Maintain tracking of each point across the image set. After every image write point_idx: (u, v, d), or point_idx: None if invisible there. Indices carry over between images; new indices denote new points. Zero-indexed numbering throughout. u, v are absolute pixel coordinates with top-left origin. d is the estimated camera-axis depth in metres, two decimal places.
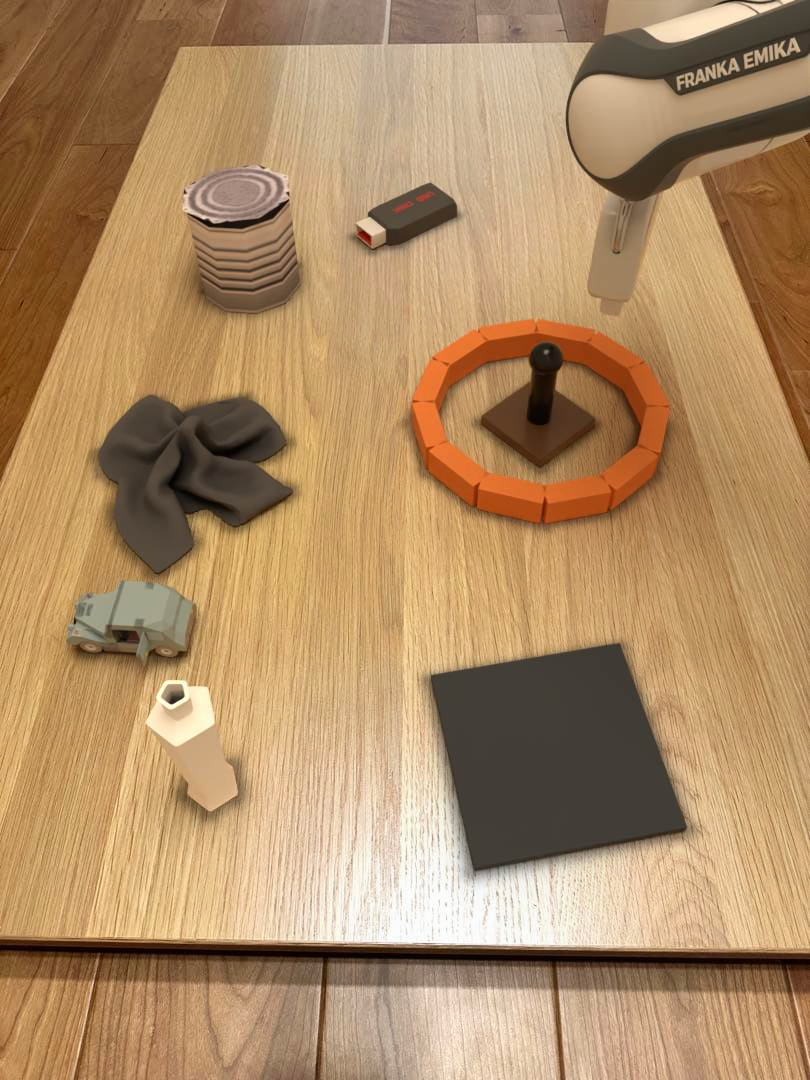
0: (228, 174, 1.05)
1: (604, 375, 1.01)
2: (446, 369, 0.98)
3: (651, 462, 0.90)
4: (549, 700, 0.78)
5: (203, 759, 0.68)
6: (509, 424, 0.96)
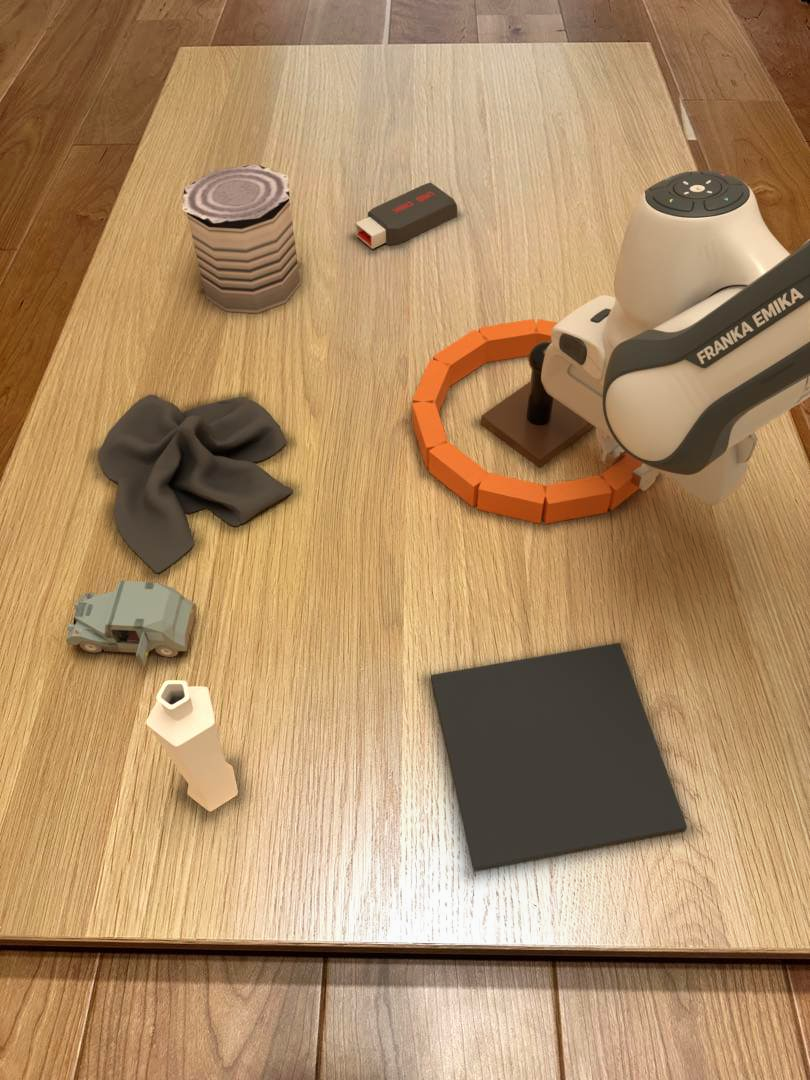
0: (228, 174, 1.05)
1: None
2: (446, 369, 0.98)
3: None
4: (549, 700, 0.78)
5: (203, 759, 0.68)
6: (509, 424, 0.96)
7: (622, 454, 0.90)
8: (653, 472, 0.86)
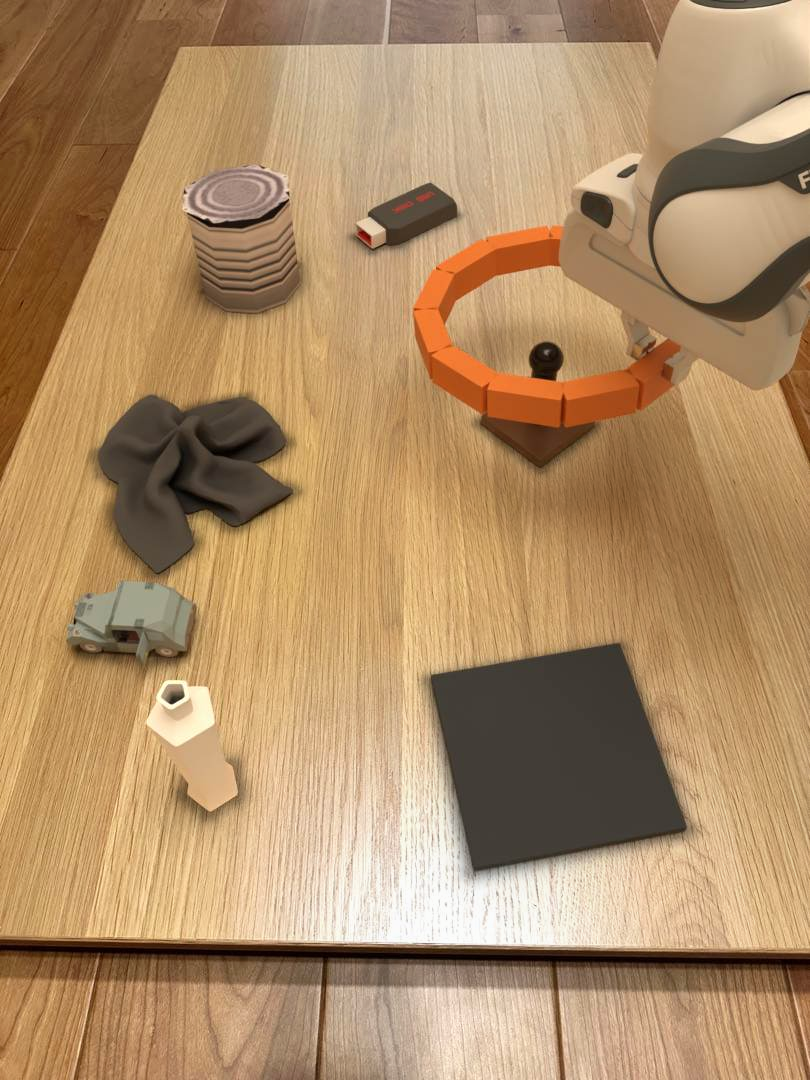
0: (228, 174, 1.05)
1: None
2: (451, 277, 0.89)
3: None
4: (549, 700, 0.78)
5: (203, 759, 0.68)
6: (509, 424, 0.96)
7: (651, 345, 0.79)
8: (688, 359, 0.75)
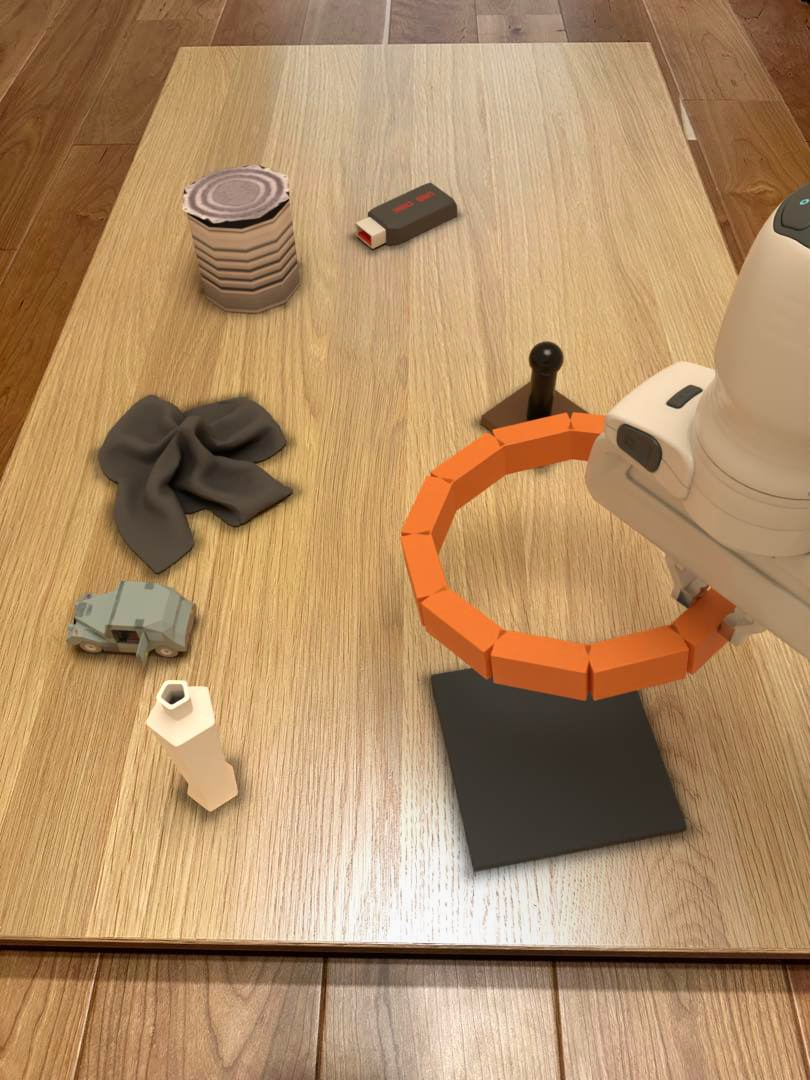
0: (228, 174, 1.05)
1: None
2: (448, 488, 0.72)
3: None
4: (549, 700, 0.78)
5: (203, 759, 0.68)
6: (509, 424, 0.96)
7: (703, 589, 0.61)
8: (756, 627, 0.57)
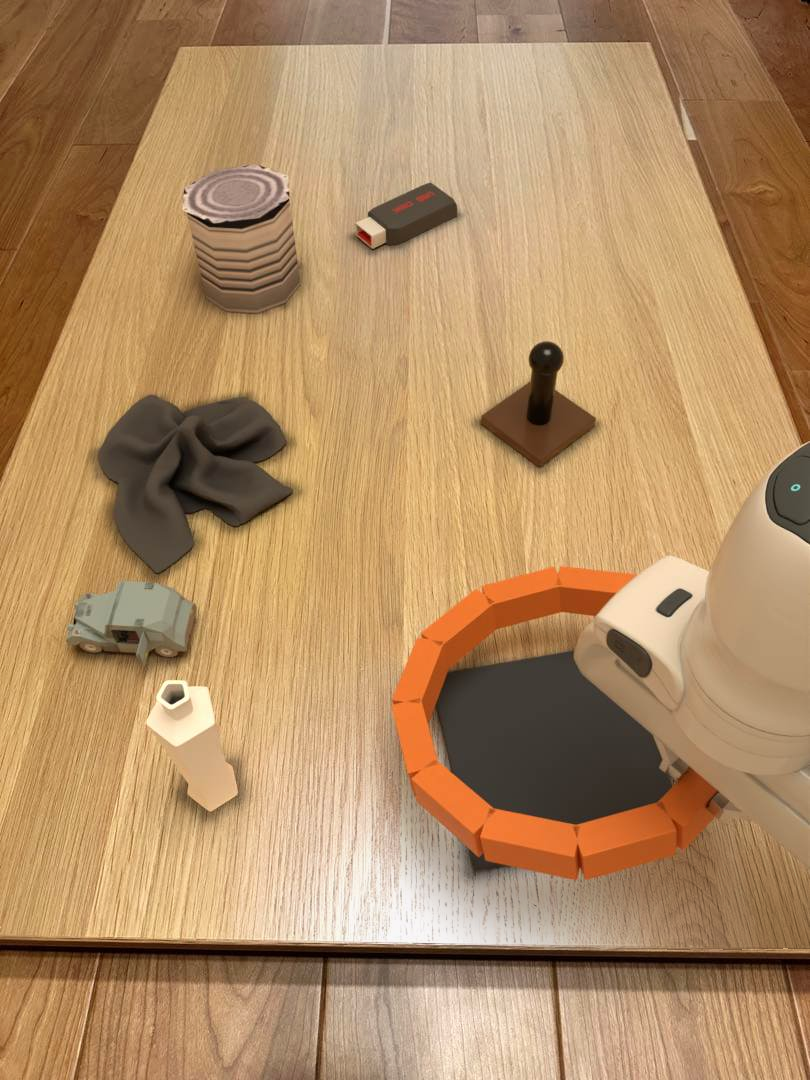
0: (228, 174, 1.05)
1: None
2: (438, 650, 0.73)
3: None
4: (549, 700, 0.78)
5: (203, 759, 0.68)
6: (509, 424, 0.96)
7: None
8: (745, 815, 0.57)
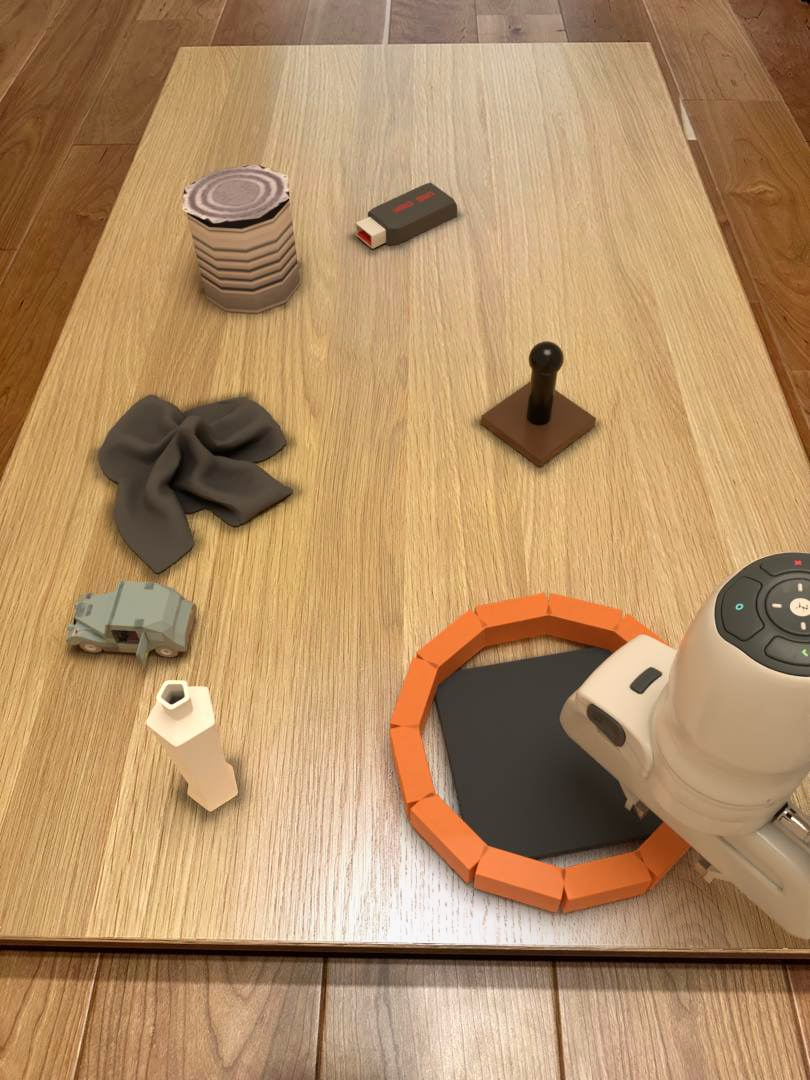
0: (228, 174, 1.05)
1: None
2: (434, 674, 0.76)
3: None
4: (549, 700, 0.78)
5: (203, 759, 0.68)
6: (509, 424, 0.96)
7: None
8: None
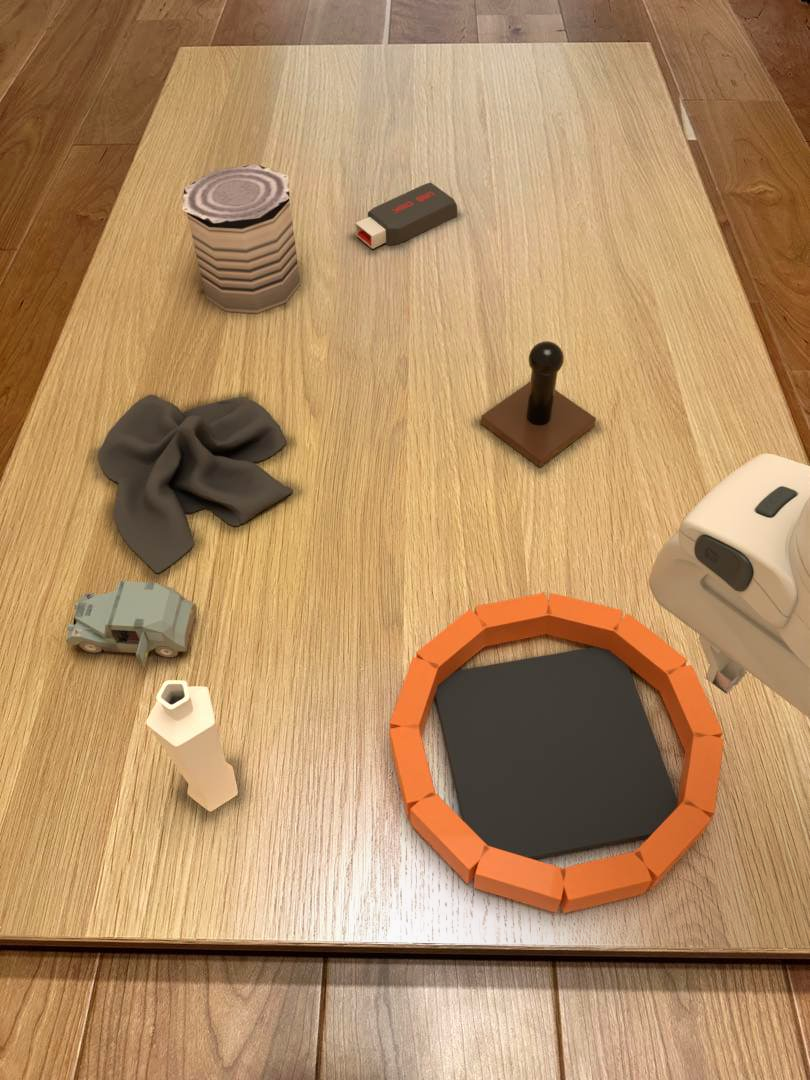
0: (228, 174, 1.05)
1: (635, 670, 0.79)
2: (434, 674, 0.76)
3: (702, 829, 0.69)
4: (549, 700, 0.78)
5: (203, 759, 0.68)
6: (509, 424, 0.96)
7: (742, 671, 0.54)
8: None
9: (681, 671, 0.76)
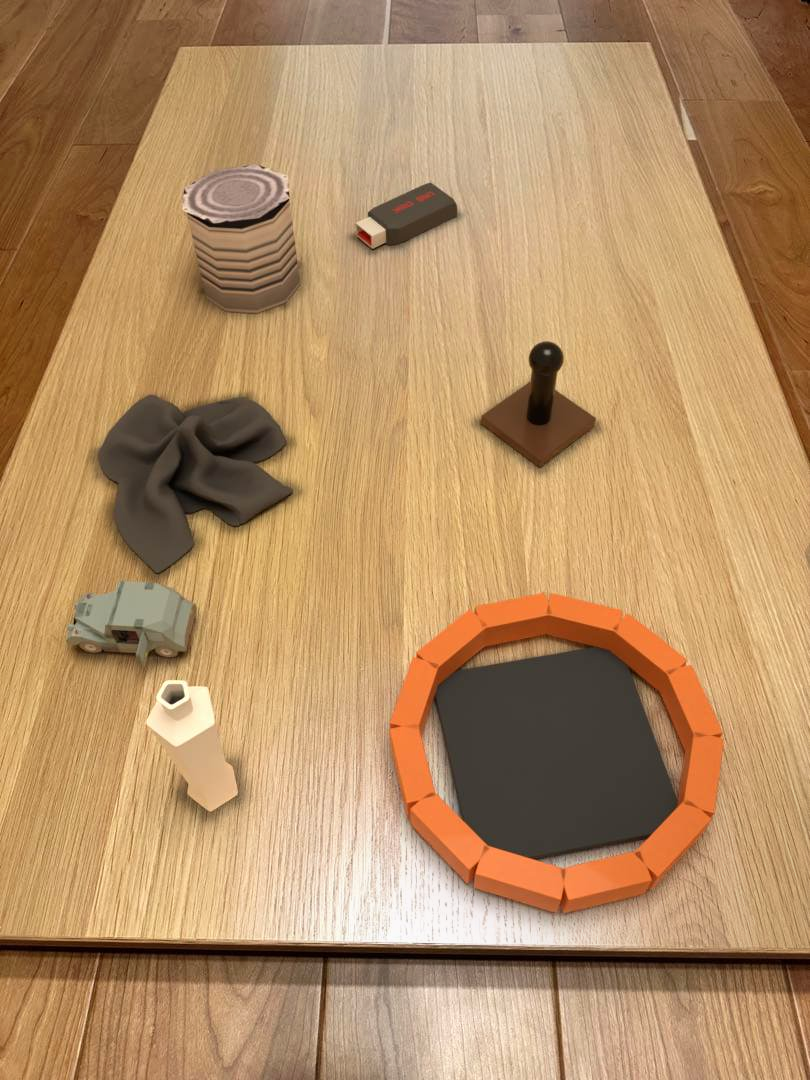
0: (228, 174, 1.05)
1: (635, 670, 0.79)
2: (434, 674, 0.76)
3: (702, 829, 0.69)
4: (549, 700, 0.78)
5: (203, 759, 0.68)
6: (509, 424, 0.96)
7: None
8: None
9: (681, 671, 0.76)
